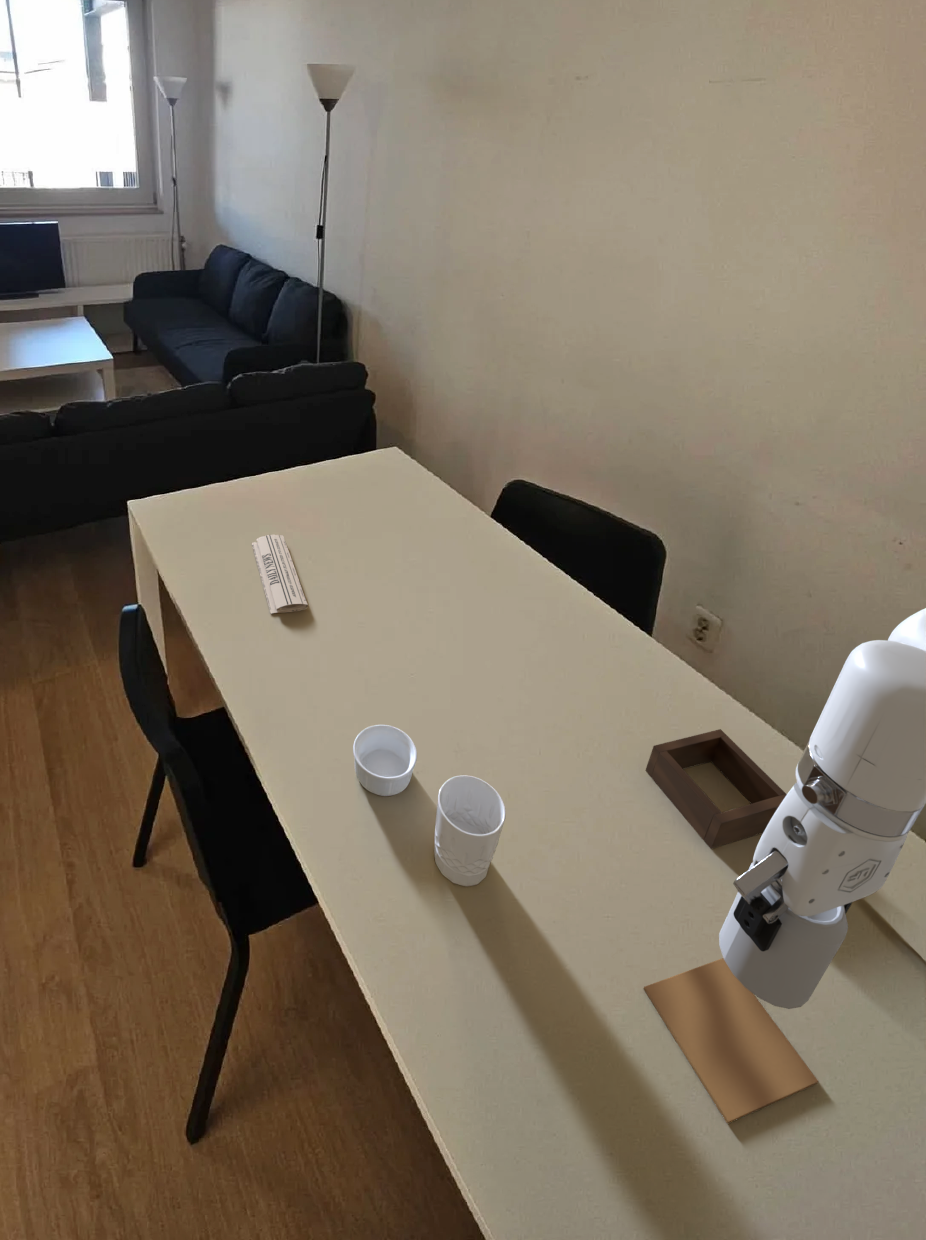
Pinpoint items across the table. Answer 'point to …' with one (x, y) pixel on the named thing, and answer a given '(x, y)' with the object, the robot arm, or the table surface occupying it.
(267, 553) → the newspaper
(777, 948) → the can
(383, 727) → the ramekin
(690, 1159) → the table surface
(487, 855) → the white cup
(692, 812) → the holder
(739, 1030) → the coaster
